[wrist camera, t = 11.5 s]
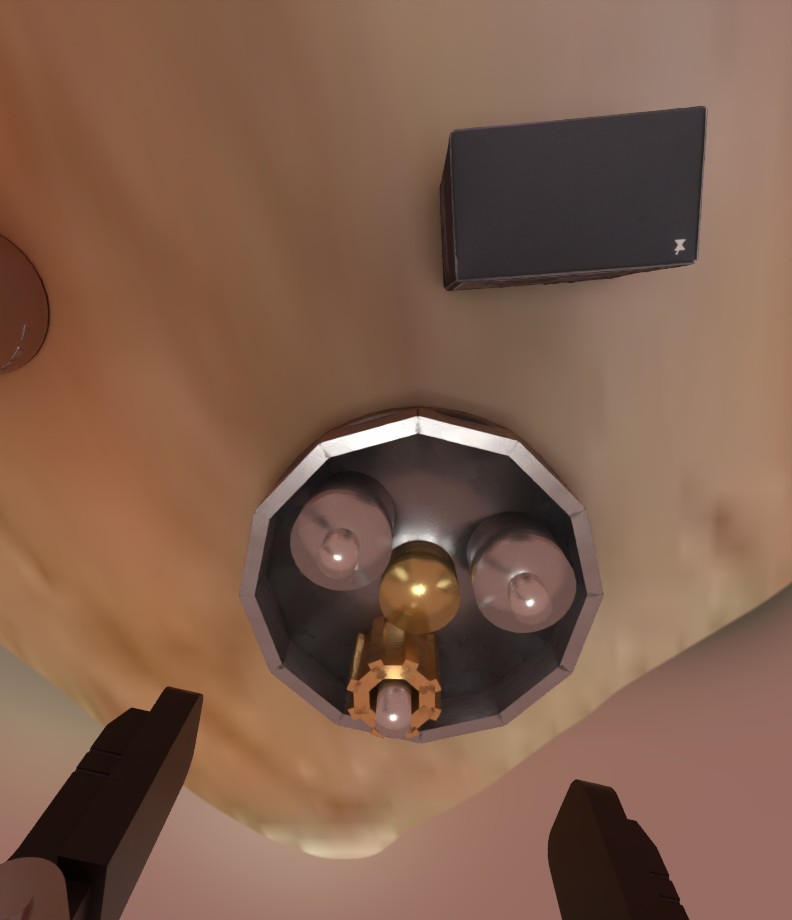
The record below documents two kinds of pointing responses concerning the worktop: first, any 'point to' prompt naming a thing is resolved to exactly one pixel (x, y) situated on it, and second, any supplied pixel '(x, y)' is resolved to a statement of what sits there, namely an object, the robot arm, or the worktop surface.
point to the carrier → (423, 567)
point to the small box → (572, 199)
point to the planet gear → (394, 672)
